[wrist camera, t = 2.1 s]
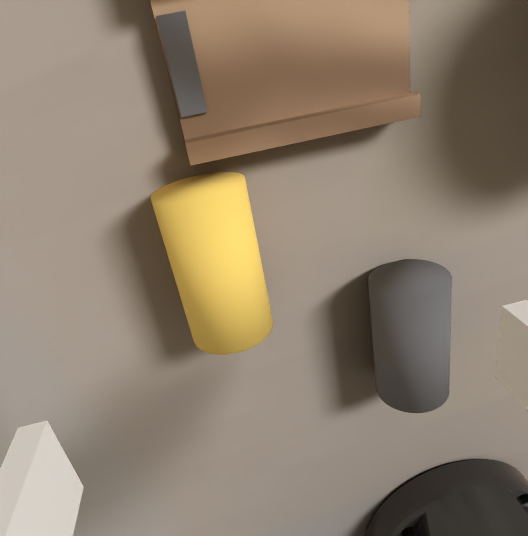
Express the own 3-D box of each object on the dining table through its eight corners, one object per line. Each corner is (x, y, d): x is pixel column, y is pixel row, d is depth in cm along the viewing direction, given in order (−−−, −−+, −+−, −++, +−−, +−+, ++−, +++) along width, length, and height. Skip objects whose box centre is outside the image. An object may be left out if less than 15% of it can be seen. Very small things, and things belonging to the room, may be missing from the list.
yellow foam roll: (286, 311, 24) (247, 361, 21) (221, 301, 27) (176, 346, 23) (261, 170, 21) (209, 204, 18) (188, 173, 23) (130, 203, 20)
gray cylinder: (412, 355, 31) (465, 390, 27) (361, 383, 29) (410, 424, 25) (409, 252, 27) (470, 277, 23) (352, 277, 25) (407, 308, 22)
